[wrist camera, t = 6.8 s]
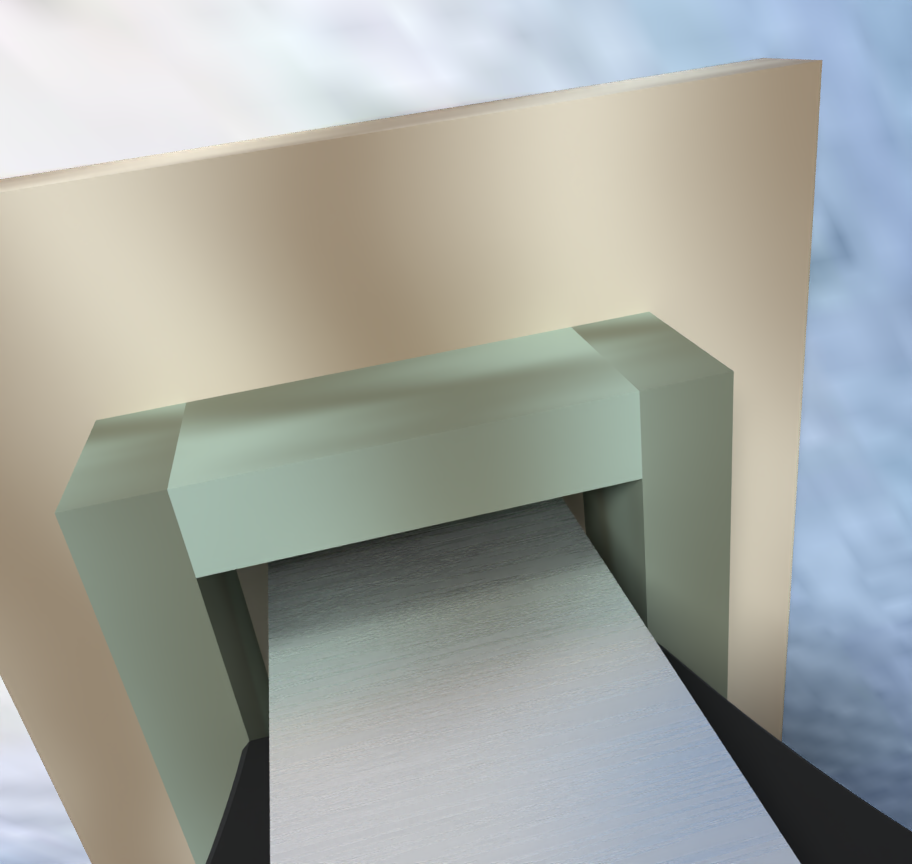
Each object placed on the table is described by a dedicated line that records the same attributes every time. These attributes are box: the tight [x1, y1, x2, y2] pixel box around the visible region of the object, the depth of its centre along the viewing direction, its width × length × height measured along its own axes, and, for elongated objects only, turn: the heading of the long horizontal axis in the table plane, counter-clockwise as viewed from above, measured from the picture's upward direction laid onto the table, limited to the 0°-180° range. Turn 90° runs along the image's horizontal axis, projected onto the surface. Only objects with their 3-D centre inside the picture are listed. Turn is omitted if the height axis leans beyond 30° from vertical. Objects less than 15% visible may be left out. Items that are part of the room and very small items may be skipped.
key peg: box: [268, 497, 801, 864], centre depth 9 cm, size 4×4×7 cm
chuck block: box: [0, 58, 822, 864], centre depth 14 cm, size 13×20×4 cm, turn 7°
